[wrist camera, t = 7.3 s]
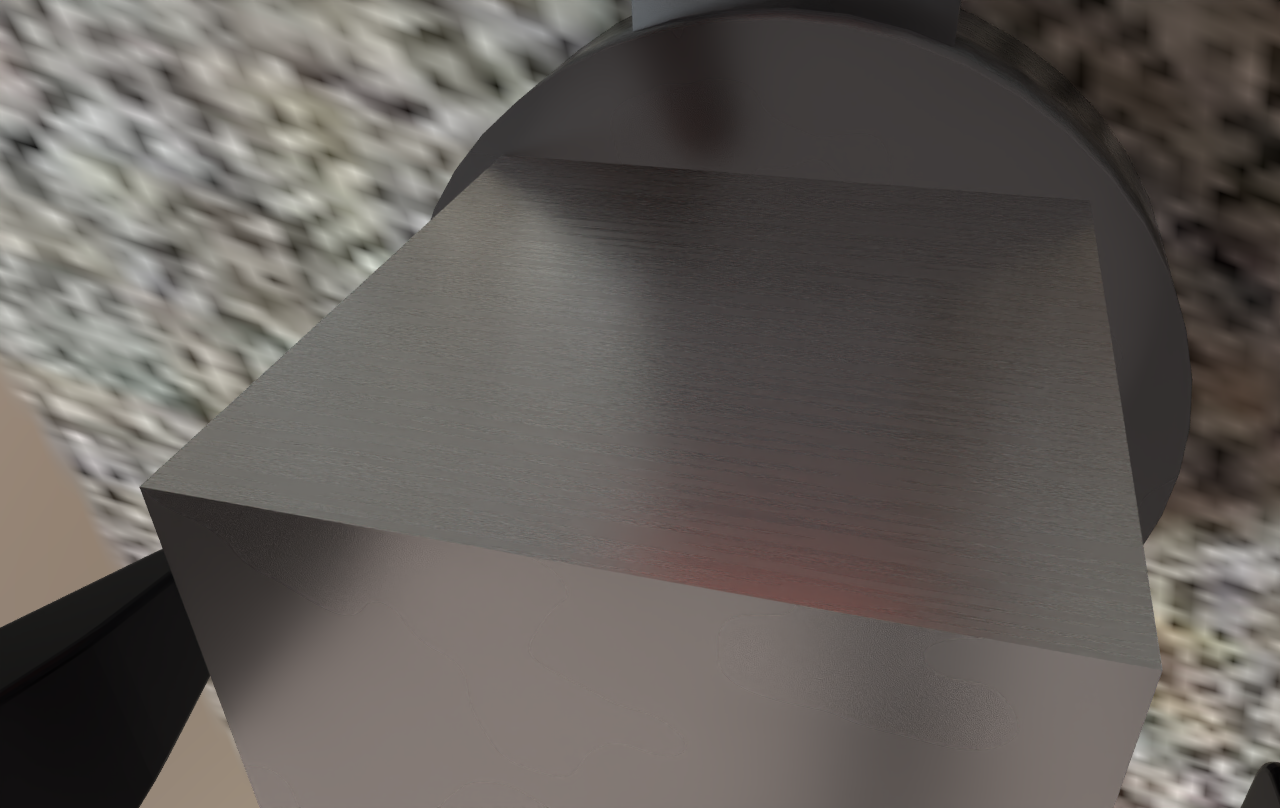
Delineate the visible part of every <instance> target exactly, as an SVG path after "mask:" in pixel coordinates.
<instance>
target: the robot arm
mask: <svg viewBox="0 0 1280 808" xmlns="http://www.w3.org/2000/svg"><path fill="white" fill-rule="evenodd" d="M209 677H210V673H209V671H208V668H207V665H206V663H205V660H204V657H203V655H202V652H201V649H200V647H199V644H198V641H197V639H196V636H195V633H194V631H193V628H192V625H191V623H190V620H189V617H188V615H187V612H186V609H185V607H184V604H183V601H182V599H181V596H180V593H179V591H178V588H177V585H176V583H175V580H174V577H173V575H172V572H171V569H170V567H169V564H168V561H167V559H166V556H165V553H164V551H163V549H161V550H159V551H157V552H155V553H153V554H151V555H148V556H146V557H144V558H142V559H140V560H138V561H136V562H134V563H132V564H130V565H128V566H126V567H124V568H122V569H120V570H118V571H116V572H114V573H112V574H109V575H107V576H105V577H104V578H101V579H99V580H97V581H95V582H93V583H91V584H89V585H87V586H85V587H83V588H81V589H79V590H77V591H75V592H73V593H70V594H68V595H66V596H65V597H62V598H60V599H58V600H56V601H54V602H52V603H50V604H48V605H46V606H44V607H42V608H40V609H38V610H36V611H34V612H31V613H29V614H27V615H25V616H23V617H21V618H19V619H17V620H15V621H13V622H11V623H9V624H7V625H5V626H3V627H1V628H0V808H139V807H140V805H141V804H142V802H143V800H144V799H145V797H146V796H147V794H148V792H149V791H150V789H151V787H152V786H153V784H154V782H155V781H156V779H157V777H158V775H159V773H160V772H161V770H162V768H163V766H164V764H165V762H166V761H167V759H168V757H169V755H170V753H171V751H172V749H173V747H174V745H175V743H176V741H177V739H178V738H179V735H180V734H181V732H182V730H183V728H184V726H185V724H186V722H187V720H188V718H189V716H190V714H191V712H192V710H193V708H194V706H195V704H196V702H197V701H198V699H199V697H200V695H201V693H202V691H203V689H204V687H205V685H206V683H207V681H208V679H209ZM1241 808H1280V763H1279V762H1268V763H1266V764H1264V765H1263V766H1262V767H1261V768H1260V769H1259V770H1258V772H1257V774H1256V776H1255V778H1254V780H1253V782H1252V785H1251V787H1250V789H1249V791H1248V793H1247V795H1246V798H1245V800H1244V802H1243V804H1242V806H1241Z"/></svg>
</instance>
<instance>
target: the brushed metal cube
mask: <svg viewBox="0 0 1280 808" xmlns="http://www.w3.org/2000/svg"><path fill="white" fill-rule="evenodd" d="M140 489H141V492H142V495H143V497H144V500H145V503H146V505H147V508H148V511H149V513H150V516H151V519H152V521H153V524H154V527H155V529H156V532H157V535H158V537H159V540H160V543H161V545H162V548H163V551H164V553H165V556H166V559H167V561H168V564H169V567H170V569H171V572H172V575H173V577H174V580H175V583H176V585H177V588H178V591H179V593H180V596H181V599H182V601H183V604H184V607H185V609H186V612H187V615H188V617H189V620H190V623H191V625H192V628H193V631H194V633H195V636H196V639H197V641H198V644H199V647H200V649H201V652H202V655H203V657H204V660H205V663H206V665H207V668H208V671H209V673H210V676H211V679H212V681H213V684H214V687H215V689H216V692H217V695H218V697H219V700H220V703H221V705H222V708H223V711H224V714H225V716H226V719H227V722H228V724H229V727H230V730H231V732H232V735H233V738H234V740H235V743H236V746H237V748H238V751H239V754H240V756H241V759H242V762H243V764H244V767H245V770H246V772H247V775H248V778H249V780H250V783H251V786H252V788H253V791H254V794H255V796H256V799H257V802H258V804H259V807H260V808H1114V805H1115V802H1116V800H1117V797H1118V794H1119V791H1120V788H1121V785H1122V783H1123V780H1124V777H1125V774H1126V771H1127V769H1128V766H1129V763H1130V760H1131V757H1132V754H1133V752H1134V749H1135V746H1136V743H1137V740H1138V738H1139V735H1140V732H1141V729H1142V726H1143V724H1144V721H1145V718H1146V715H1147V712H1148V709H1149V707H1150V704H1151V701H1152V698H1153V695H1154V693H1155V690H1156V687H1157V684H1158V681H1159V678H1160V676H1161V673H1162V664H1161V658H1160V651H1159V645H1158V638H1157V632H1156V626H1155V619H1154V613H1153V606H1152V600H1151V593H1150V587H1149V580H1148V574H1147V567H1146V561H1145V554H1144V548H1143V541H1142V535H1141V529H1140V522H1139V516H1138V509H1137V503H1136V496H1135V490H1134V483H1133V477H1132V470H1131V464H1130V457H1129V451H1128V445H1127V438H1126V432H1125V425H1124V419H1123V412H1122V406H1121V399H1120V393H1119V386H1118V380H1117V373H1116V367H1115V361H1114V354H1113V348H1112V341H1111V335H1110V328H1109V322H1108V315H1107V309H1106V302H1105V296H1104V289H1103V283H1102V276H1101V270H1100V264H1099V257H1098V251H1097V244H1096V238H1095V231H1094V225H1093V218H1092V212H1091V205H1090V201H1089V200H1076V199H1063V198H1050V197H1038V196H1025V195H1012V194H999V193H986V192H973V191H961V190H948V189H935V188H922V187H909V186H896V185H884V184H871V183H858V182H845V181H832V180H820V179H807V178H794V177H781V176H768V175H755V174H743V173H730V172H717V171H704V170H691V169H678V168H665V167H653V166H640V165H627V164H614V163H601V162H588V161H575V160H562V159H549V158H537V157H524V156H511V155H502V156H501V157H499V158H498V159H497V160H496V161H495V162H494V163H493V164H492V165H491V166H490V167H488V168H487V169H486V170H485V171H484V172H483V173H482V174H481V175H480V176H479V177H478V178H476V179H475V180H474V181H473V182H472V183H471V184H470V185H469V186H468V187H467V188H466V189H464V190H463V191H462V192H461V193H460V194H459V195H458V196H457V197H456V198H455V199H454V200H452V201H451V202H450V203H449V204H448V205H447V206H446V207H445V208H444V209H443V210H441V211H440V212H439V213H438V214H437V215H436V216H435V217H434V218H433V219H432V220H431V221H429V222H428V223H427V224H426V225H425V226H424V227H423V228H422V229H421V230H420V231H419V232H417V233H416V234H415V235H414V236H413V237H412V238H411V239H410V240H409V241H408V242H406V243H405V244H404V245H403V246H402V247H401V248H400V249H399V250H398V251H397V252H396V253H394V254H393V255H392V256H391V257H390V258H389V259H388V260H387V261H386V262H385V263H384V264H382V265H381V266H380V267H379V268H378V269H377V270H376V271H375V272H374V273H373V274H372V275H370V276H369V277H368V278H367V279H366V280H365V281H364V282H363V283H362V284H361V285H359V286H358V287H357V288H356V289H355V290H354V291H353V292H352V293H351V294H350V295H349V296H347V297H346V298H345V299H344V300H343V301H342V302H341V303H340V304H339V305H338V306H337V307H335V308H334V309H333V310H332V311H331V312H330V313H329V314H328V315H327V316H326V317H325V318H323V319H322V320H321V321H320V322H319V323H318V324H317V325H316V326H315V327H314V328H312V329H311V330H310V331H309V332H308V333H307V334H306V335H305V336H304V337H303V338H302V339H300V340H299V341H298V342H297V343H296V344H295V345H294V346H293V347H292V348H291V349H290V350H288V351H287V352H286V353H285V354H284V355H283V356H282V357H281V358H280V359H279V360H278V361H276V362H275V363H274V364H273V365H272V366H271V367H270V368H269V369H268V370H267V371H265V372H264V373H263V374H262V375H261V376H260V377H259V378H258V379H257V380H256V381H255V382H253V383H252V384H251V385H250V386H249V387H248V388H247V389H246V390H245V391H244V392H243V393H241V394H240V395H239V396H238V397H237V398H236V399H235V400H234V401H233V402H232V403H231V404H229V405H228V406H227V407H226V408H225V409H224V410H223V411H222V412H221V413H220V414H218V415H217V416H216V417H215V418H214V419H213V420H212V421H211V422H210V423H209V424H208V425H206V426H205V427H204V428H203V429H202V430H201V431H200V432H199V433H198V434H197V435H196V436H194V437H193V438H192V439H191V440H190V441H189V442H188V443H187V444H186V445H185V446H183V447H182V448H181V449H180V450H179V451H178V452H177V453H176V454H175V455H174V456H173V457H171V458H170V459H169V460H168V461H167V462H166V463H165V464H164V465H163V466H162V467H161V468H159V469H158V470H157V471H156V472H155V473H154V474H153V475H152V476H151V477H150V478H149V479H147V480H146V481H145V482H144V483H143V484H142V485H141V486H140Z"/></svg>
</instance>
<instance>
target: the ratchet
mask: <svg viewBox="0 0 1280 808" xmlns="http://www.w3.org/2000/svg"><path fill="white" fill-rule="evenodd" d="M961 1H962V0H632V16H631V17H629V18H627V19H625V20H623V21H621V22H619V23H617V24H615V25H614V26H612V27H611V28H610V29H608V30H607V31H605V32H604V33H602V34H601V35H600V36H598V37H597V38H595V39H594V40H592V41H591V42H590V43H588V44H587V45H585V46H584V47H582V48H581V49H580V50H578V51H577V52H576V53H575V54H573V55H572V56H571V57H570V58H569V59H567V60H566V61H565V62H564V63H563V64H561V65H560V66H559V67H558V68H557V69H555V70H554V71H553V72H552V73H551V74H549V75H548V76H547V77H546V78H545V79H543V80H542V81H541V82H540V83H539V84H537V85H536V86H535V87H534V88H533V89H531V90H530V91H529V92H528V93H527V94H525V95H524V96H523V97H522V98H521V99H519V100H518V101H517V102H516V103H515V104H514V105H513V106H512V107H511V108H510V109H509V110H508V111H507V112H506V113H504V114H503V115H502V116H501V117H500V118H499V119H498V120H497V121H496V122H495V123H494V124H493V125H492V126H491V127H490V128H489V129H488V130H487V131H486V132H485V133H484V134H483V135H482V136H481V137H480V139H479V140H478V141H477V142H476V144H475V145H474V146H473V148H472V149H471V150H470V152H469V153H468V154H467V156H466V157H465V158H464V160H463V161H462V162H461V163H460V165H459V166H458V167H457V169H456V170H455V172H454V174H453V175H452V177H451V179H450V181H449V183H448V185H447V187H446V189H445V190H444V192H443V194H442V196H441V198H440V200H439V202H438V203H437V205H436V207H435V209H434V212H433V215H432V218H431V220H432V219H433V218H434V217H435V216H436V215H437V214H438V213H439V212H440V211H441V210H443V209H444V208H445V207H446V206H447V205H448V204H449V203H450V202H451V201H452V200H454V199H455V198H456V197H457V196H458V195H459V194H460V193H461V192H462V191H463V190H464V189H466V188H467V187H468V186H469V185H470V184H471V183H472V182H473V181H474V180H475V179H476V178H478V177H479V176H480V175H481V174H482V173H483V172H484V171H485V170H486V169H487V168H488V167H490V166H491V165H492V164H493V163H494V162H495V161H496V160H497V159H498V158H499V157H501V156H502V155H511V156H524V157H537V158H549V159H562V160H575V161H588V162H601V163H614V164H627V165H640V166H653V167H665V168H678V169H691V170H704V171H717V172H730V173H743V174H755V175H768V176H781V177H794V178H807V179H820V180H832V181H845V182H858V183H871V184H884V185H896V186H909V187H922V188H935V189H948V190H961V191H973V192H986V193H999V194H1012V195H1025V196H1038V197H1050V198H1063V199H1076V200H1089V201H1090V205H1091V212H1092V218H1093V225H1094V231H1095V238H1096V244H1097V251H1098V257H1099V264H1100V270H1101V276H1102V283H1103V289H1104V296H1105V302H1106V309H1107V315H1108V322H1109V328H1110V335H1111V341H1112V348H1113V354H1114V361H1115V367H1116V373H1117V380H1118V386H1119V393H1120V399H1121V406H1122V412H1123V419H1124V425H1125V432H1126V438H1127V445H1128V451H1129V457H1130V464H1131V470H1132V477H1133V483H1134V490H1135V496H1136V503H1137V509H1138V516H1139V522H1140V529H1141V535H1142V541H1143V545H1144V543H1145V541H1146V540H1147V538H1148V537H1149V535H1150V533H1151V532H1152V530H1153V529H1154V527H1155V525H1156V524H1157V522H1158V521H1159V519H1160V517H1161V516H1162V513H1163V511H1164V509H1165V506H1166V504H1167V501H1168V499H1169V497H1170V494H1171V492H1172V489H1173V487H1174V485H1175V482H1176V480H1177V477H1178V475H1179V472H1180V468H1181V463H1182V459H1183V455H1184V450H1185V446H1186V441H1187V437H1188V433H1189V428H1190V411H1191V392H1192V374H1191V366H1190V358H1189V350H1188V342H1187V333H1186V327H1185V324H1184V320H1183V316H1182V313H1181V309H1180V305H1179V302H1178V298H1177V294H1176V291H1175V287H1174V283H1173V280H1172V276H1171V272H1170V269H1169V265H1168V261H1167V258H1166V254H1165V250H1164V247H1163V243H1162V240H1161V236H1160V233H1159V230H1158V226H1157V223H1156V220H1155V216H1154V213H1153V210H1152V206H1151V203H1150V200H1149V197H1148V195H1147V193H1146V191H1145V189H1144V187H1143V185H1142V183H1141V181H1140V179H1139V177H1138V175H1137V173H1136V171H1135V168H1134V166H1133V164H1132V162H1131V160H1130V158H1129V156H1128V154H1127V153H1126V151H1125V150H1124V148H1123V147H1122V146H1121V144H1120V143H1119V141H1118V140H1117V138H1116V137H1115V135H1114V134H1113V133H1112V131H1111V130H1110V128H1109V127H1108V125H1107V124H1106V123H1105V121H1104V120H1103V118H1102V117H1101V115H1100V114H1099V113H1098V111H1097V110H1096V109H1095V108H1094V107H1093V106H1092V105H1091V104H1090V103H1089V102H1088V101H1087V100H1086V99H1085V98H1084V97H1083V96H1082V95H1081V94H1080V93H1079V91H1078V90H1077V89H1076V88H1075V87H1074V86H1073V85H1072V84H1071V83H1070V82H1069V81H1068V80H1067V79H1066V78H1065V77H1064V76H1063V75H1062V74H1061V73H1060V72H1059V71H1057V70H1056V69H1055V68H1053V67H1052V66H1051V65H1050V64H1048V63H1047V62H1046V61H1045V60H1043V59H1042V58H1041V57H1039V56H1038V55H1037V54H1036V53H1034V52H1033V51H1032V50H1030V49H1029V48H1028V47H1027V46H1025V45H1024V44H1023V43H1021V42H1020V41H1019V40H1017V39H1015V38H1013V37H1012V36H1010V35H1008V34H1006V33H1005V32H1003V31H1001V30H999V29H998V28H996V27H994V26H992V25H991V24H989V23H987V22H985V21H984V20H982V19H980V18H978V17H977V16H975V15H973V14H971V13H969V12H966V11H964V10H961V9H960V8H961Z"/></svg>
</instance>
